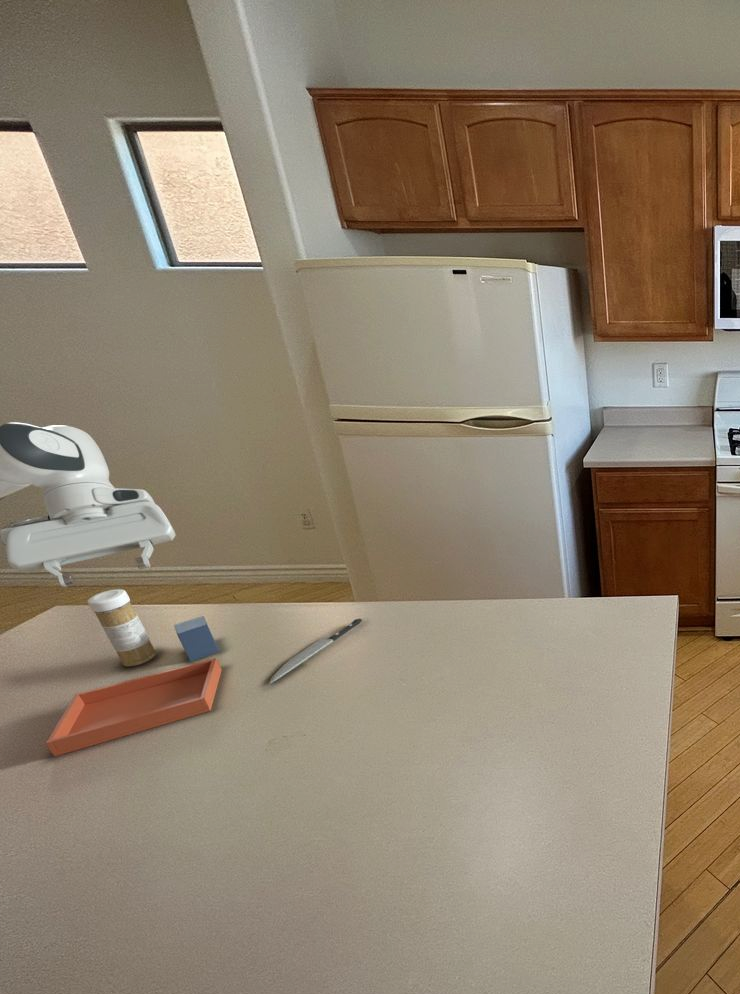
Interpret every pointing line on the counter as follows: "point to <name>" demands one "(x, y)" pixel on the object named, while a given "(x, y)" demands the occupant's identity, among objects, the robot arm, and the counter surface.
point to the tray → (135, 706)
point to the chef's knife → (311, 651)
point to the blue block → (196, 638)
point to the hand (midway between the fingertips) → (107, 575)
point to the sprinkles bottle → (122, 627)
